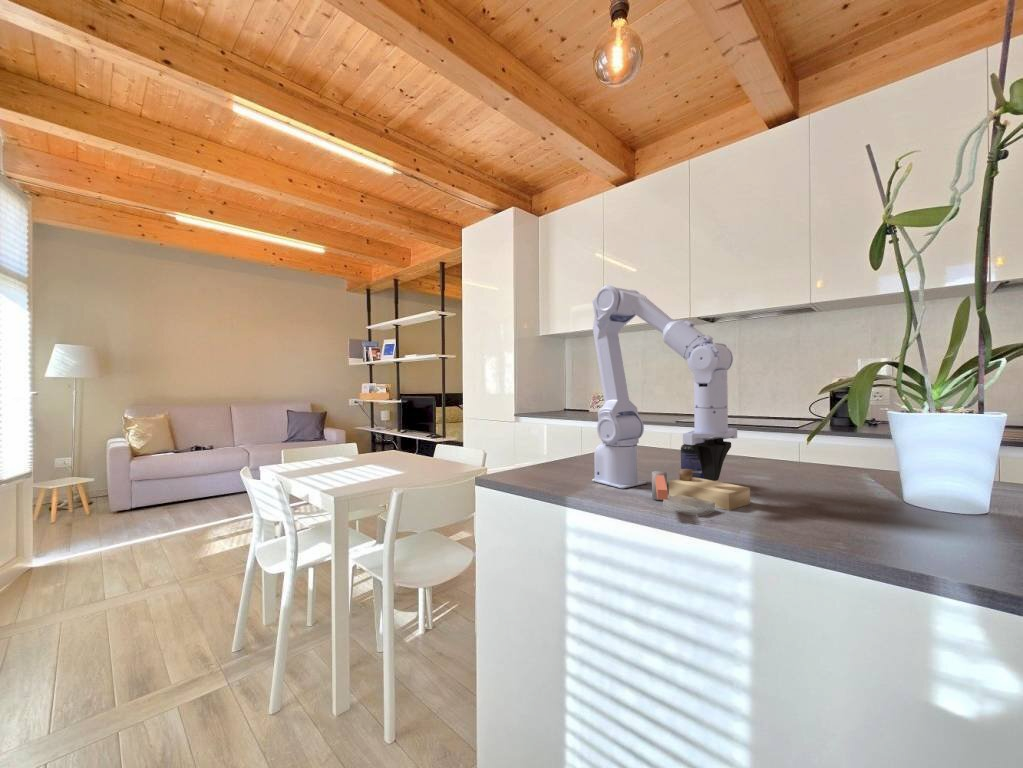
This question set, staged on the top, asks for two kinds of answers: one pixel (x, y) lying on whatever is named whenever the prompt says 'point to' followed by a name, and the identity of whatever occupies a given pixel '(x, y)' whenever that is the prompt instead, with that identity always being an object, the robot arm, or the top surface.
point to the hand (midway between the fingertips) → (711, 479)
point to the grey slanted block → (689, 505)
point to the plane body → (710, 491)
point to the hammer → (659, 485)
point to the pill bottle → (691, 461)
